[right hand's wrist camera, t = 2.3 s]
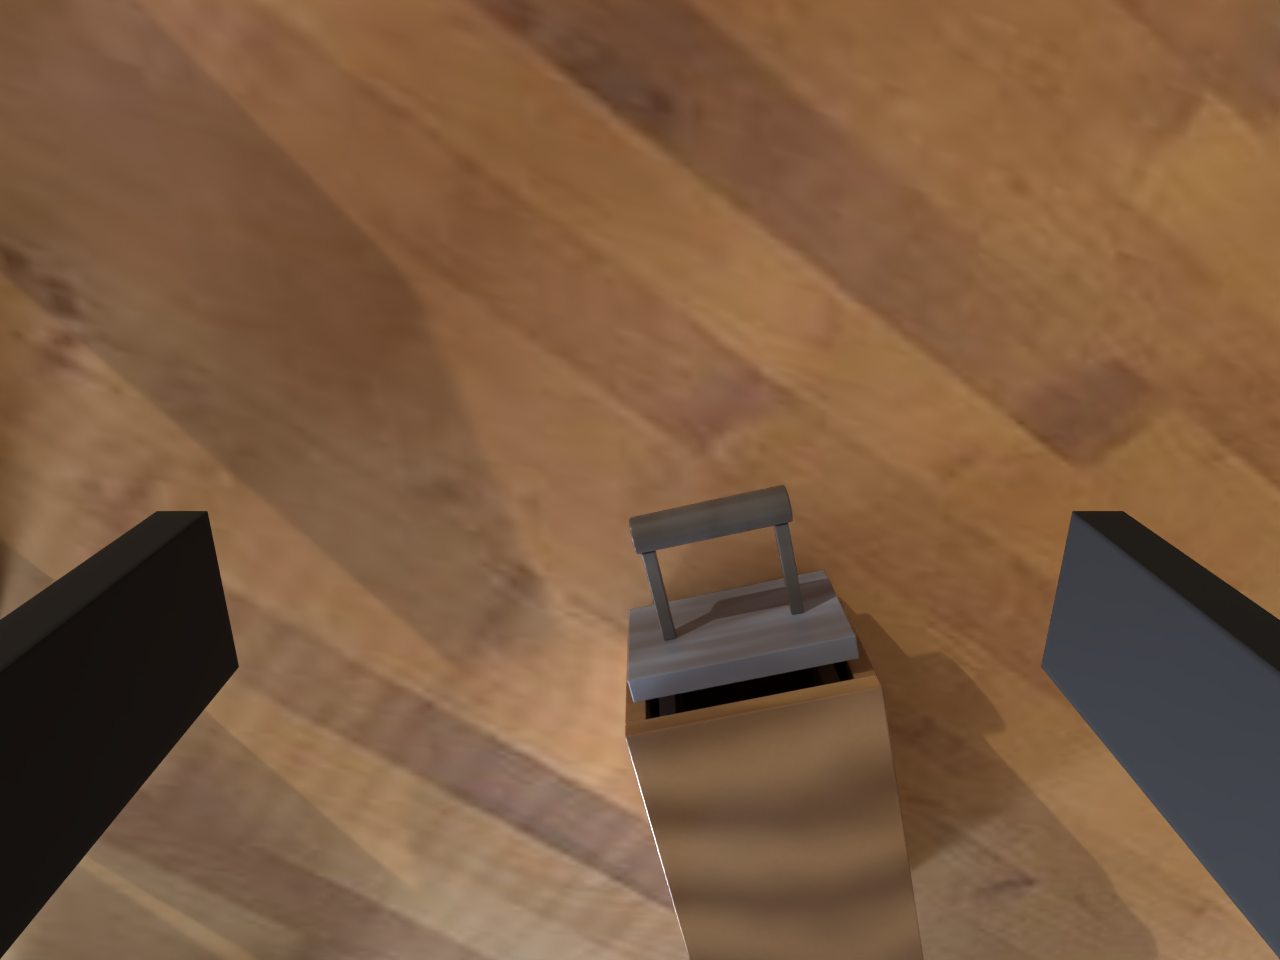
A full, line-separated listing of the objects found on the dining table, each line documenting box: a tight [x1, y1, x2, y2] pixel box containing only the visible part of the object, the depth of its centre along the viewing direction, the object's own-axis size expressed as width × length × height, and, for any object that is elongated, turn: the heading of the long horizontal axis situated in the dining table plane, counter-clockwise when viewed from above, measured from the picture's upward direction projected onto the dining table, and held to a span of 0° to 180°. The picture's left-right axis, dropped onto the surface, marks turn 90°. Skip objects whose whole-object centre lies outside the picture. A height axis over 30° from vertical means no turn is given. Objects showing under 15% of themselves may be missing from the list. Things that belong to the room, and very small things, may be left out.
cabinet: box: [625, 595, 924, 960], centre depth 42 cm, size 21×11×8 cm, turn 13°
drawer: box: [628, 485, 859, 717], centre depth 40 cm, size 26×10×6 cm, turn 13°
